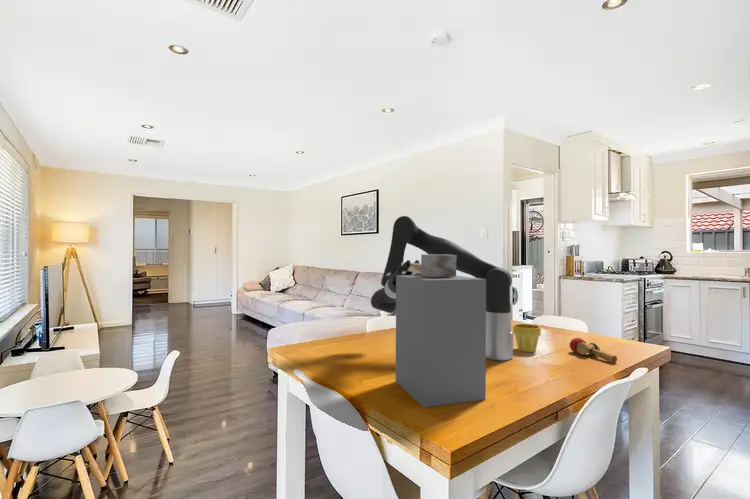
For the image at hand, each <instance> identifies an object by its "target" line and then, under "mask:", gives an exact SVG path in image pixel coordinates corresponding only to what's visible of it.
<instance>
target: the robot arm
mask: <svg viewBox="0 0 750 499" xmlns="http://www.w3.org/2000/svg"><path fill="white" fill-rule="evenodd" d="M392 227H393V228H392V232H391V233H392V234H391V242H390V247H389V252H388V257H387V261H386V264H385V267H384V271H383V274H382V276H381V281H380V285H381V287H382V288H380V289H378V290H376V291H375V292H374V293H373V294H372V296H371V298H370V304H371V307H372V308H373V309H375V310H378V311H382V312H385V313H388V314H392V313H394V312H396V275H421V273H416V272H410V271H407V270H408V269H409V267H410V265H411V263H412V262H411V260H410V259H407V260H406V261H405V260H404V259H405V258H404V257H405V251H406V249H407V248H406V247H407V245H410V246H413V247H415V248H417V249H419V250H421V251H423V252H425V253H426V254H432V255H456V271H458V272H460V273H463V274H467V275H470V276H471V277H473V278H480V279H486V359H489V360H491V361H492V360H493V361H509V360H511V359H513V358H514V333H513V331H511V330H512V329H511V327H512V324H511V323H512V322H511V321H512V315H511V314H512V313H511V312H512V309H511V308H512V304H511V285H512V281H513V280H512V275H511V274H510V272H509V271H507V270H506V269H504V268H502V267H499V266H497V265H494V264H492V263H489V262H487V261H485V260H483V259H481V258H480V257H478V256H476V255H475V254H474V253H472V252H471V251H469V250H467V249H465V248H464V247H463V246H460V245H458V244H456V243H455V242H453V241H451V240H449V239H447V238H443V237H440V236H435V235H432V234H429V233H428V232H426V231H425V230H423V229H422V228H420V227H419V226H418V225H416V223H415V221H414V220H413V218H412V217H410V216H407V215H402V216H399V217H397V219H396V220H394V223H393V226H392ZM404 261H405V263H404V264H403V265H402V262H404ZM413 263H417V264H421V261H420V260H419V259H416V260H415V261H414V262H413ZM401 265H402V266H401Z"/></svg>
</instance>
